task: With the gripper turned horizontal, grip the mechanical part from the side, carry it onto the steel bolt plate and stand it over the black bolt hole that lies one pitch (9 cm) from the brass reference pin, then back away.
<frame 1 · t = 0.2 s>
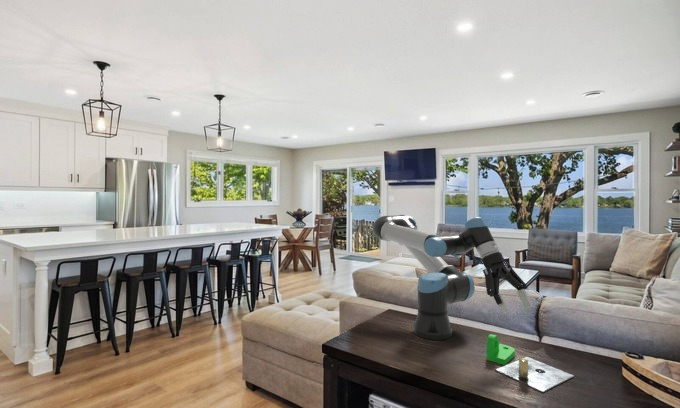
hand: (518, 310, 128), 15 cm above the table, tool tilted 35°, fingers open, 13 cm apart
mechanical part: (502, 357, 125), on the table
bolt plate: (534, 373, 113), on the table
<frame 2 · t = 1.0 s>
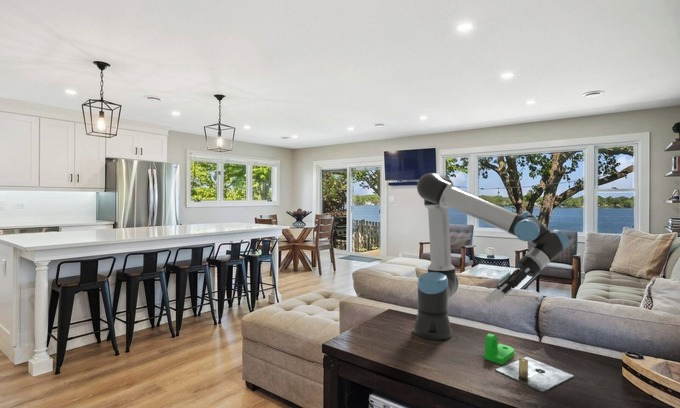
hand: (490, 300, 133), 17 cm above the table, tool tilted 50°, fingers open, 13 cm apart
nothing on the table moved.
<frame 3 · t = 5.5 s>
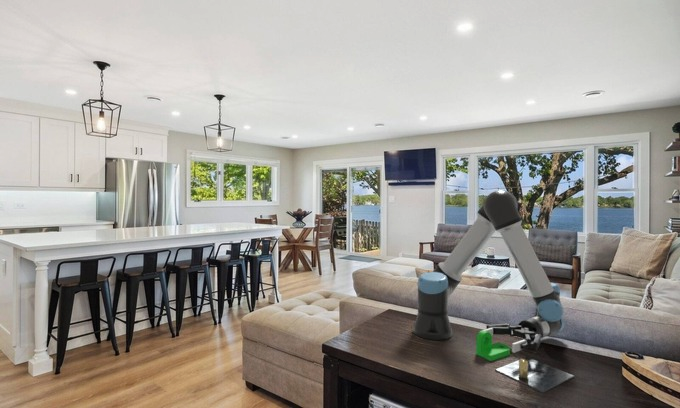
hand: (496, 341, 123), 6 cm above the table, tool horizontal, fingers open, 12 cm apart
mechanical part: (495, 354, 127), on the table, touching gripper
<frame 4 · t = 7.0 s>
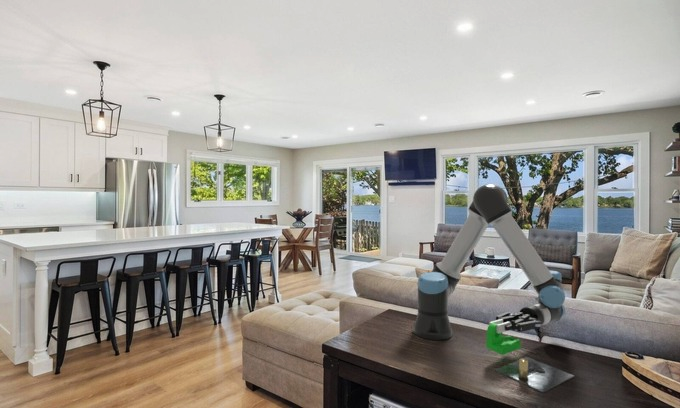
hand: (493, 327, 122), 11 cm above the table, tool horizontal, fingers closed on mechanical part, 2 cm apart
mechanical part: (505, 348, 122), point 4 cm above the table, touching gripper
when the fingers open (8 cm above the table, at t = 11.0 s): mechanical part stays where it is, resting on bolt plate.
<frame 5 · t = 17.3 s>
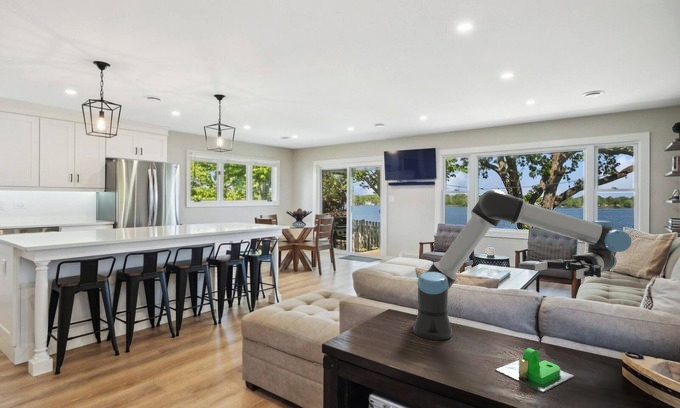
hand: (555, 270, 123), 30 cm above the table, tool horizontal, fingers open, 13 cm apart
mechanical part: (543, 375, 111), resting on bolt plate
at the end: mechanical part 2.5 cm from the target spot on the bolt plate, point 0.2 cm above the bolt plate's base; mechanical part tilted 0°; the gripper is holding nothing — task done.
